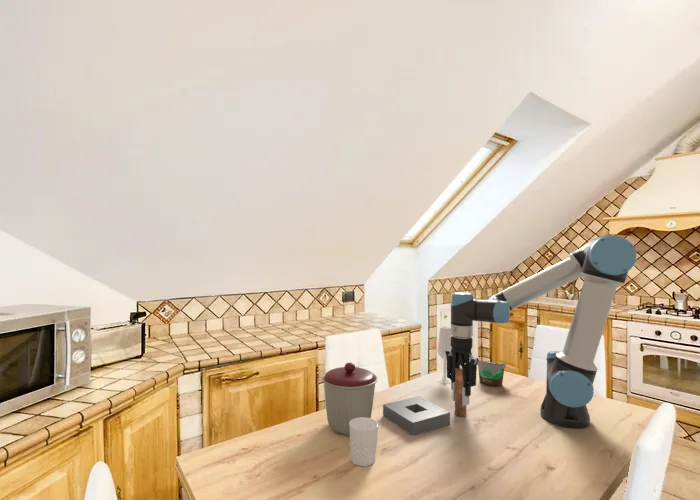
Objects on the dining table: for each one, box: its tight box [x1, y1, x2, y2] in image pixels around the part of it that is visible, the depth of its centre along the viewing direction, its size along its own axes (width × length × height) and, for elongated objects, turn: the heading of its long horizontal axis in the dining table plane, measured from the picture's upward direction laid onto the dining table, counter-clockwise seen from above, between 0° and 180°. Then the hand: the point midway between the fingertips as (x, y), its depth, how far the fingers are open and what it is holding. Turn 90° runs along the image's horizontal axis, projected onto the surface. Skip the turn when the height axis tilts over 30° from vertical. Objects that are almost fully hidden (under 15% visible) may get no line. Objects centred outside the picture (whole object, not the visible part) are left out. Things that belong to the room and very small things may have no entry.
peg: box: [454, 366, 468, 417], centre depth 135 cm, size 4×4×16 cm
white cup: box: [349, 417, 379, 467], centre depth 105 cm, size 8×8×10 cm
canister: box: [321, 362, 379, 436], centre depth 124 cm, size 18×18×21 cm
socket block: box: [382, 395, 451, 436], centre depth 130 cm, size 16×16×4 cm
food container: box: [477, 359, 507, 388], centre depth 166 cm, size 12×6×10 cm, turn 62°
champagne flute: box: [436, 325, 452, 385], centre depth 170 cm, size 7×7×24 cm
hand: (460, 402), depth 135 cm, fingers closed on peg, 4 cm apart
